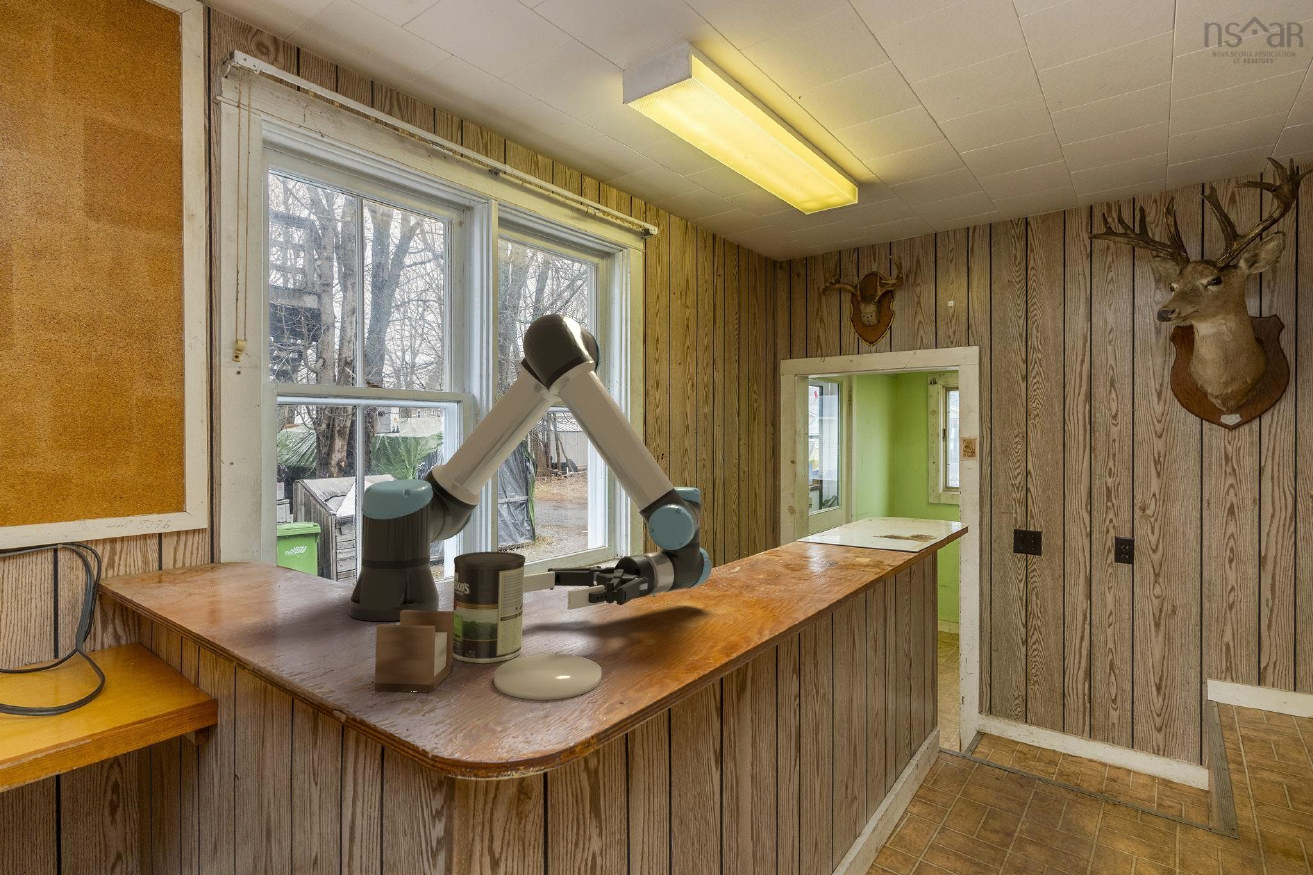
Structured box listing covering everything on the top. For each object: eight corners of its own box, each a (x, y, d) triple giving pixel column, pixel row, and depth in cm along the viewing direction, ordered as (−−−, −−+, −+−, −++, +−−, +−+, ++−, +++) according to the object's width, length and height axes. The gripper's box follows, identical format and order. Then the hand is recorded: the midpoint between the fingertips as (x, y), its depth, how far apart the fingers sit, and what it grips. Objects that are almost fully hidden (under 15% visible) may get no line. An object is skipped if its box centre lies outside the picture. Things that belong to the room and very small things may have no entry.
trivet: (480, 697, 79) (480, 689, 79) (509, 659, 93) (509, 652, 93) (594, 701, 79) (595, 693, 79) (606, 662, 93) (606, 655, 93)
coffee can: (460, 668, 89) (462, 565, 89) (444, 646, 98) (447, 553, 98) (532, 657, 94) (534, 560, 94) (511, 638, 103) (513, 549, 103)
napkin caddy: (374, 690, 80) (376, 626, 80) (401, 668, 88) (403, 609, 88) (430, 692, 80) (432, 628, 80) (452, 670, 88) (454, 611, 88)
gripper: (692, 610, 108) (591, 633, 94) (599, 584, 126) (502, 600, 112) (693, 565, 108) (593, 581, 94) (600, 545, 126) (503, 557, 112)
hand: (543, 592), depth 103 cm, fingers open, 13 cm apart
